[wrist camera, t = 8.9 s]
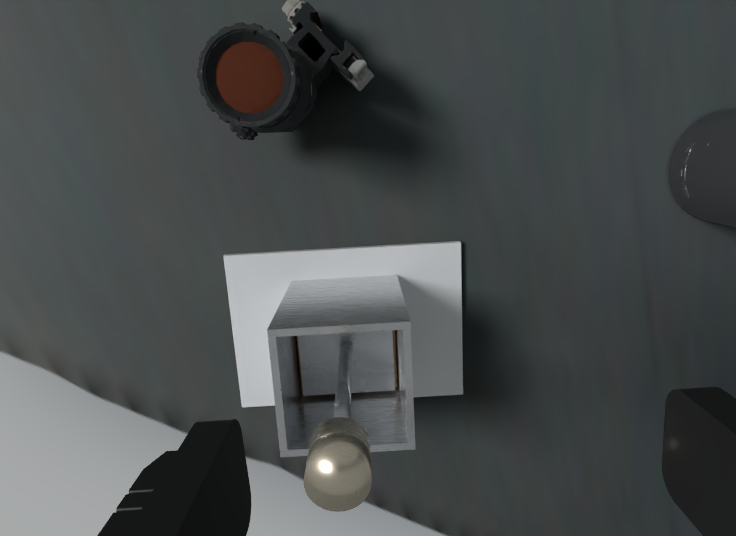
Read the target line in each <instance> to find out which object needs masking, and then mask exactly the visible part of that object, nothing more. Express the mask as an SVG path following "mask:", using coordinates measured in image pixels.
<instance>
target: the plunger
mask: <svg viewBox="0 0 736 536" xmlns="http://www.w3.org/2000/svg"><path fill="white" fill-rule="evenodd" d="M298 344H299V355H300V366H301V377H302V388H303V396H308V395H325V394H336V395H335V405H334V415H333V418H330V419H328V420H325V421H324V422H322V423H321V424H319V425H318V426H317V427H316V429H315V430H314V432H313V433H312V436H311V440H310V446H309V452H308V458H307V464H306V470H305V476H304V487H305V491H306V493H307V495H308V497H309V498H310V499H311V500H312V502H314V503H315V504H316V505H317V506H319V507H321V508H323V509H326V510H330V511H346V510H350V509H353V508H355V507H357V506H358V505H360V504H361V503H362V502H363V501H364V500H365V499H366V497H367V496H368V494H369V492H370V489H371V453H370V438H369V435H368V433H367V431H366V430H365V428H364V427H363V426H362V425H361V424H360V423H358V422H357V421H355V420H353V419H350V415H351V393H359V392H376V391H393V390H395V377H394V356H393V335H392V330H387V331H370V332H352V333H335V334H318V335H301V336H298Z"/></svg>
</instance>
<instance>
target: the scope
mask: <svg viewBox="0 0 736 536" xmlns="http://www.w3.org/2000/svg"><path fill="white" fill-rule="evenodd" d="M282 11H283V13H284V14H285V15H286V16H287V17H288V22H289V23H290V24H291V25H292V27H293V28H292V29H291V28H289V29H290V31H291V33H292V34H293V36H292V37H291V38H290V39H289V40H288V41H287V44H286V43H285V42H281V41H280V40H279V39H280V38H279V36H278V35H277V34H276V33H274V32H273V31H272V30H269V31H267V30H265V29H264V28H263V27H262V26H261V25H258V24H254V23H253V24H252V25H246V24H244V23H235V25H234V26H230V27H224V28H222V29H220V30H219V32H218V33H217V34H216V35H214V36H213V37H211V38H210V39H209V40H208V41H207V42H206V43H207V45H206V46H205V48H204V50H203V51H201V54H200V57H199V60H200V61H199V68H198V69H197V78H199V82H200V87H199V89H200V92H201V95H202V96H204V97H205V99H206V101H207V106H208V107H209V108H210V110H211V111H214V112H216V113H217V114H218V115H219V118H220V119H221V120H223V121H224V122H227V123H230V130H231V131H232V132H234V131H235V132H238V133H237V135H236V136H238V137H239V138H240V139H242V140H243V139H248V140H254V137H255V136H257V135H258V134H257V132H261V133H267V132H293V131H294V130H295V129H296V128H297V127H298V126H299V125H300V124H301V123H302V121H303V120H304V119H305V118H306V117H307V116H308V115H309V113H310V112H311V111H312V110H313V109H314V107H315V105H314V102H315V101H316V100H317V92H316V90H317V89H318V88H319V87H320V86H321V85H322V82H324V81H325V80H326V79H327V78H328V76H329V74H330V73H331V71H332V70H333V68H334V70H335V71H336V72H337V73H338V74H339V75H340V76H341V77H342V78H343V79H344V80H345V81H346V82H347V83H348V84H349V85H350V86H351V87H352V86H354V87H355V88H356V89H357V90H359V91H361V90H362V89H363V88H364V87H365V86H366V85H367V83H368V82H369V81H370V80H371V79H372V78H373V77H374V75H373V73H372V72H371V71H370V70H369V69H368V68H367V61H366V60H365V58H364V57H363V56H362V55H361V54H360V53H359V52H358V51H357V50H356V49H355V48H354V47H353V46H352V45H351V44H350V43H349V42H348V41H347V40H346V41H345V42H344V50H343V51H342V52H341V51H340V50H339V49H338V48H337V47H336V46H335V45H334V44H333V43H332V42H331V41H330V40H329V39H328V38H327V37H326V36H325V35H324V34H323V33H322V30H321V29H323V28H322V25H321V22H320V19H319V16H318V12H317V11H316V10H315V9H314V8H313V7H312V6H311V5H310V4H309V3H308V2H307V3H305V2H304V1H301V2H300V1H299V0H287V1H286V3H285V4H284V6H283V7H282ZM314 47H317V48H318V49H319V50H320V51H321V52H322V53H323V55H322V56H321V57H320V58H319V60H318V61H317V62H314V61H313V60H312V59H311V58H310V57H309V56H308V55H307V54H308V53H309V52H310V51H311V50H312V49H313V48H314Z"/></svg>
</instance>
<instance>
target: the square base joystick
mask: <svg viewBox="0 0 736 536" xmlns="http://www.w3.org/2000/svg"><path fill="white" fill-rule="evenodd" d="M387 330H392V335H393V356H394V377H395V390H393V391H376V392H359V393H351V415H350V419H353V420H355V421H357V422H358V423H360V424H361V425H362V426H363V427H364V428H365V430H366V431H367V433H368V435H369V438H370V452H378V451H395V450H412V449H415V427H414V401H413V375H412V349H411V323H410V318H409V315H408V311H407V308H406V304H405V301H404V297H403V294H402V290H401V287H400V284H399V280H398V277H397V275H384V276H366V277H349V278H332V279H315V280H297V281H291V283H290V285H289V287H288V289H287V291H286V293H285V295H284V297H283V299H282V301H281V303H280V305H279V307H278V309H277V311H276V313H275V315H274V317H273V319H272V321H271V323H270V325H269V327H268V329H267V334H268V343H269V353H270V362H271V371H272V381H273V390H274V400H275V409H276V418H277V428H278V437H279V446H280V456H281V457H293V456H308V452H309V446H310V440H311V436H312V433H313V432H314V430H315V429H316V427H317V426H318V425H319V424H321V423H322V422H324V421H325V420H328V419H330V418H333V415H334V405H335V395H336V394H325V395H308V396H303V388H302V377H301V366H300V355H299V344H298V336H301V335H318V334H335V333H352V332H370V331H387Z"/></svg>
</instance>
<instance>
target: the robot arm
mask: <svg viewBox="0 0 736 536" xmlns="http://www.w3.org/2000/svg"><path fill="white" fill-rule="evenodd" d="M669 182H670V186H671V190H672V193H673V195H674V197H675V199H676V201H677V202H678V204H679V205H680V206H681V207H682V208H683V209H684V210H685V211H686V212H688V213H689V214H690V215H692V216H693V217H696V218H699V219H701V220H704V221H709V222H713V223H718V224H722V225H727V226H731V227H735V228H736V108H733V109H724V110H720V111H717V112H713V113H711V114H709V115H707V116H705V117H703V118H701V119H700V120H698V121H697V122H696V123H694V124H693V125H692V126H691V127H690V128H689V129H688V130H687V131H686V132H685V133H684V134H683V136H682V137H681V139H680V140H679V142H678V144H677V145H676V147H675V150H674V152H673V155H672V157H671V163H670V168H669ZM662 473H663V478H664V482H665V485H666V487H667V490H668V492H669V494H670V496H671V498H672V499H673V501H674V502H675V503H676V504H677V506H678V507H679V508H680V509H681V510H682V511H683V513H684V514H685V515H686V516H687V517H688V519H689V520H690V521H691V522H692V523H693V524H694V526H695V527H696V528H697V529H698V530H699V532H700V533H701V534H702V535H703V536H736V399H735V398H734V397H732V396H731V395H730V394H728V393H727V392H725V391H724V390H722V389H721V388H718V387H706V388H691V389H677V390H672V391H671V392H670V393H669V394H668V396H667V399H666V405H665V421H664V437H663V452H662ZM250 515H251V491H250V484H249V477H248V471H247V465H246V458H245V451H244V444H243V438H242V431H241V427H240V424H239V422H238V421H237V420H236V419H233V420H219V421H204V422H196V423H195V424H194V425H193V427H192V428H191V430H190V431H189V433H188V435H187V436H186V438H185V439H184V441H183V443H182V444H181V446H180V448H179V449H178V451H166V452H165V453H164V454H162V455H161V456H160V457H159V458H157V459H156V460H155V461H153V462H152V463H151V464H150V465H148V466H147V467H146V468H145V469H143V471H142V472H141V473H140V475H139V477H138V478H137V479H136V481H135V482H134V484H133V485H132V487H131V488H130V490H129V494H127V495H125V497H124V498H123V500H122V501H121V503H120V504H119V505H118V507H117V511H116V513H113V514H112V516H111V517H110V518H109V520H108V521H107V523H106V524H105V526H104V527H103V529H102V530H101V532H100V533H99V534H98V536H246V534H247V531H248V527H249V522H250Z"/></svg>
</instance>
